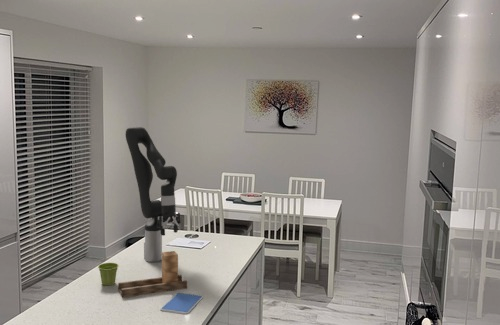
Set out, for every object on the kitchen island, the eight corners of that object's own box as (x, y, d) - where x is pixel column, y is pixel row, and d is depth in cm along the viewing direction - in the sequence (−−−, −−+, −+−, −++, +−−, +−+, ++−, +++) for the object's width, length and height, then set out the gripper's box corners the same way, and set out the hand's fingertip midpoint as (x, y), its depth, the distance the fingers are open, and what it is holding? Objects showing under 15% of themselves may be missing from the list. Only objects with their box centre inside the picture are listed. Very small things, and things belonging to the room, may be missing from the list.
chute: (181, 281, 232) (181, 274, 232) (187, 288, 223) (187, 281, 222) (118, 289, 219) (118, 282, 219) (122, 297, 210) (121, 290, 210)
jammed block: (174, 281, 228) (174, 251, 227) (177, 285, 223) (177, 254, 221) (162, 282, 226) (162, 252, 224) (165, 287, 220) (165, 256, 219)
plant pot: (122, 281, 230) (122, 264, 229) (110, 288, 221) (110, 270, 220) (106, 278, 233) (106, 261, 232) (94, 285, 224) (93, 267, 223)
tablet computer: (177, 294, 217) (177, 291, 217) (203, 298, 214) (203, 295, 213) (159, 311, 198) (159, 308, 198) (187, 315, 195) (187, 312, 195)
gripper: (173, 201, 260) (175, 230, 261) (153, 205, 249) (154, 235, 250) (183, 202, 255) (184, 232, 256) (162, 206, 244) (163, 237, 245)
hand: (169, 233), depth 253 cm, fingers open, 8 cm apart
